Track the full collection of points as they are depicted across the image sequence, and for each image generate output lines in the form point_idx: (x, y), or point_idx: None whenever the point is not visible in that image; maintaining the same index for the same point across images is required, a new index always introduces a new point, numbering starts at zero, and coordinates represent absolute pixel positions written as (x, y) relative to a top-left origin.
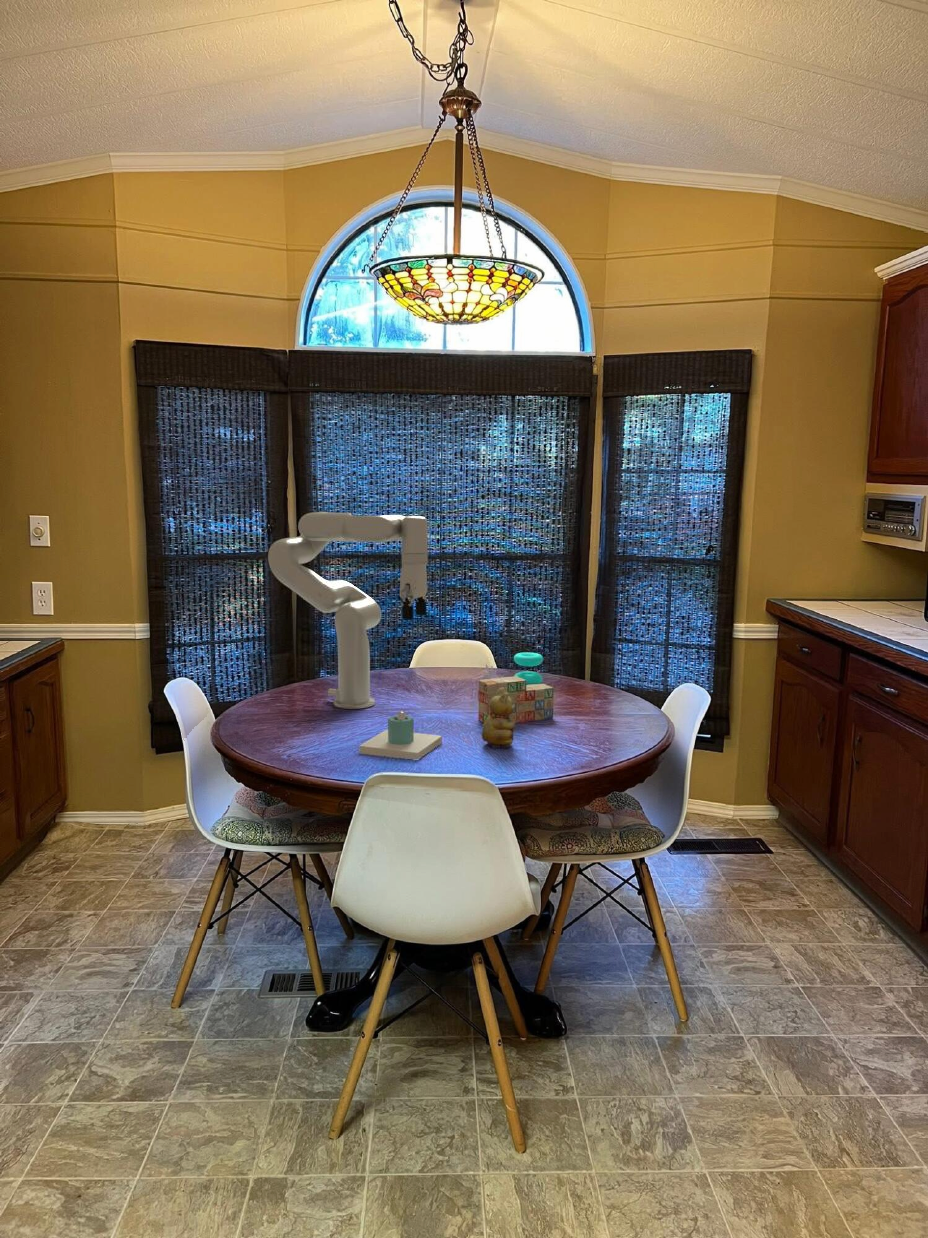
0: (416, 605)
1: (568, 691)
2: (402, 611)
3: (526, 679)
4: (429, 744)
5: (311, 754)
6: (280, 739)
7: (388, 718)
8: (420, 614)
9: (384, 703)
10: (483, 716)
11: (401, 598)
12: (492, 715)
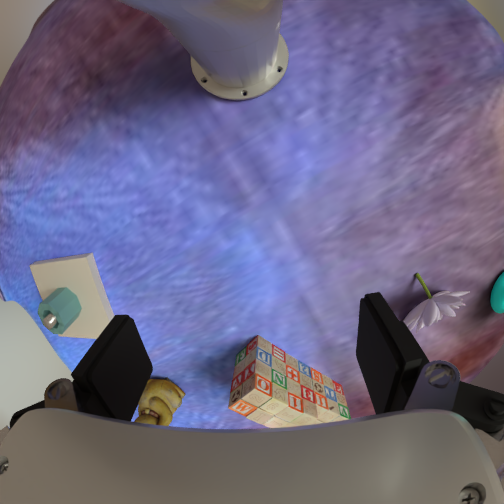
0: (385, 345)
1: (465, 353)
2: (92, 345)
3: (495, 300)
4: (84, 337)
5: (8, 213)
6: (19, 132)
7: (39, 304)
8: (358, 329)
9: (284, 107)
10: (245, 354)
11: (10, 423)
12: (138, 413)
